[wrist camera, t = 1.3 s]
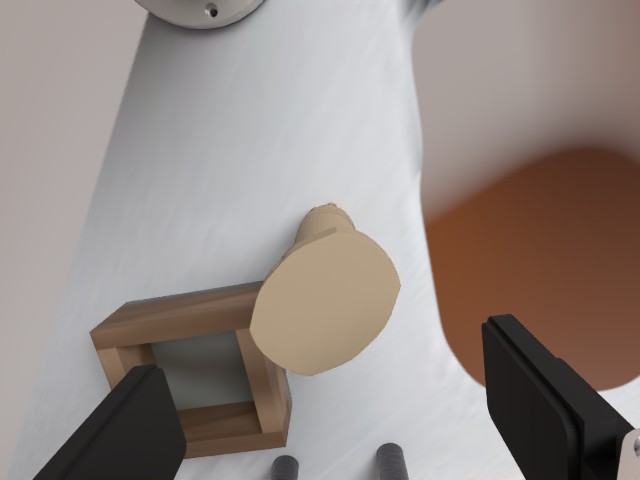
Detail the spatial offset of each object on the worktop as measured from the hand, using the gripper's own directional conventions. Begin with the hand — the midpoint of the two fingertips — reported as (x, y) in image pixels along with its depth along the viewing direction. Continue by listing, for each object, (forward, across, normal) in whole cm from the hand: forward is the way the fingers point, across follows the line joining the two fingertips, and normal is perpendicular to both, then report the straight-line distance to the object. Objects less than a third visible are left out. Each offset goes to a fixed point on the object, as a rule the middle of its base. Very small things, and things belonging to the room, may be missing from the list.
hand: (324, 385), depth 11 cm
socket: (+19, +12, +9) cm, 25 cm away
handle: (+19, 0, -1) cm, 19 cm away
